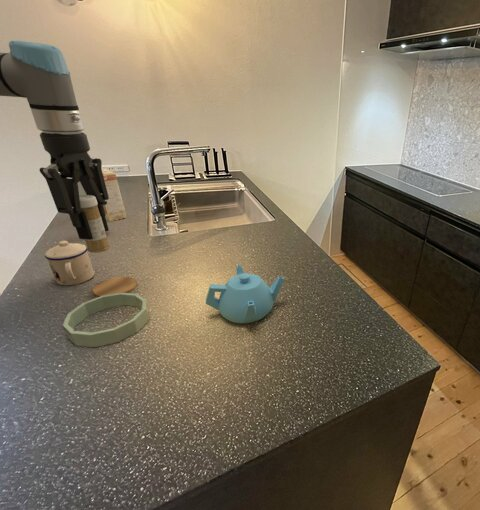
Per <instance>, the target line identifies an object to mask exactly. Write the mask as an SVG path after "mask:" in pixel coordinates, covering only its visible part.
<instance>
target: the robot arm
mask: <svg viewBox="0 0 480 510" xmlns="http://www.w3.org/2000/svg"><path fill="white" fill-rule="evenodd" d="M8 47H9V50H10V51H9V52H0V97H10V98H11V97H13V98H24V99H26V101H27V103H28V106H29V108H30V111H31V115H32V116H33V120H34V123H35V125H36V129H37V130H39V131H41V132H40V133H39V138H40V140H41V143H42V146H43V149H44V151H45V152H46V153H48V154H49V156H50V160H49V162H50V164H49V165H47V166H46V167H39V172H40V174H41V175H42V176H43V178H44V179H45V181H46V185H47V186H48V189H49V192H50V194H51V196H52V200H53V203H54V205H55V208H56V210H57V213H59V214H67V215H69V218H70V221H71V224H72V226H73V227H74V228H75V230H76V233H77V236H78V239H79V240H80V239H81V240H85V239H89V240H91V239H93V236H92V233H91V230H90V227H89V224H88V221H87V217H86V214H85V212H81V207H80V199H79V196H80V191H79V183H80V185H81V187H82V189H83V191H84V193H85V195H92V196H95V197H96V200H97V203H98V204H97V205H98V210H99V213H100V216H101V218H102V222H103V225H104V229H105V232H109V231H110V229H109V226H108V221H107V220H106V218H105V216H106V214H105V210H104V207H103V205H106V204H107V201H105V200H108V199H109V196H108V192H107V189H106V185H105V181H104V177H103V173H102V169H101V167H102V166H103V165H102V159H101V158H97V157H92V156H91V155H90V154H89V153H88V152H89V151H90V150H91V146H90V143H89V140H88V135H87V134H86V133H85V132H82V131H84V130H85V126H84V122H83V120H82V115H81V112H80V110H79V105H78V103H77V99H76V94H75V91H74V86H73V82H72V77H71V72H70V70H69V68H68V65H67V62H66V59H65V56H64V54H63V52H62V51H61V49H60V48H58V47H57V46H55V45H50V44H45V43H39V42H32V41H25V40H10V41H9V42H8ZM101 194H102V195H101Z"/></svg>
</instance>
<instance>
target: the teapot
mask: <svg viewBox="0 0 480 510" xmlns="http://www.w3.org/2000/svg"><path fill="white" fill-rule="evenodd" d="M284 281H285V277H284V276H277V278H276V279H275V280H274V282H273V283H271V285H270V286H268V284H267V283H266V282H265V281H264V280H263V279H262V277H260V276H259V275H257V274H255V273H249V272H248V273H247V272H246V273H245V272H244V269H243V267H242V265H241V264H237V265H236V275H233V276H232V277H230V278H229V279H228V280H227V282H226V283H225V284H218V283H217V284H214V283H210V284H209V287H208V291H207V294H206V296H205V297H206V298H205V305H207V306H209V307H211V308H213V309H215V310H217V311H219V314H220V315H221V316H222V317H223V318H224V319H226V320H228V321H230V322H232V323H235V324H243V325H244V324H252V323H256V322H258V321H260V320H261V319H263V318H265V317H266V316H267V315H268V314H269V313H270V312H271V311H272V309H273V307H274V302H276V301H277V298H278V296H279V293H280V291H281V288H282V286H283V284H284ZM216 293H220V294H219V297H215V295H216Z"/></svg>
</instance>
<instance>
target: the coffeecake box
mask: <svg viewBox="0 0 480 510" xmlns="http://www.w3.org/2000/svg"><path fill="white" fill-rule="evenodd" d="M101 169H102V173H103V177H104V181H105V185H106V189H107V192H108V196H109V199H108V200H105V201H107V204H106V205H103V207H104V210H105V214H106V216H105V218H106V222H109V223H112V222H115V221H114V220H116V221H120V220H124V219H123V218H125V219H127V218H128V215H127V213H126V208H125V206H124V201H123V196H122V194H121V190H120V186H119V182H118V179H117V174H116V172H114V171H111V170H109V169H106V168H104V167H102V166H101ZM101 195H102V194H101ZM119 219H120V220H119ZM111 221H112V222H111Z"/></svg>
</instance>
